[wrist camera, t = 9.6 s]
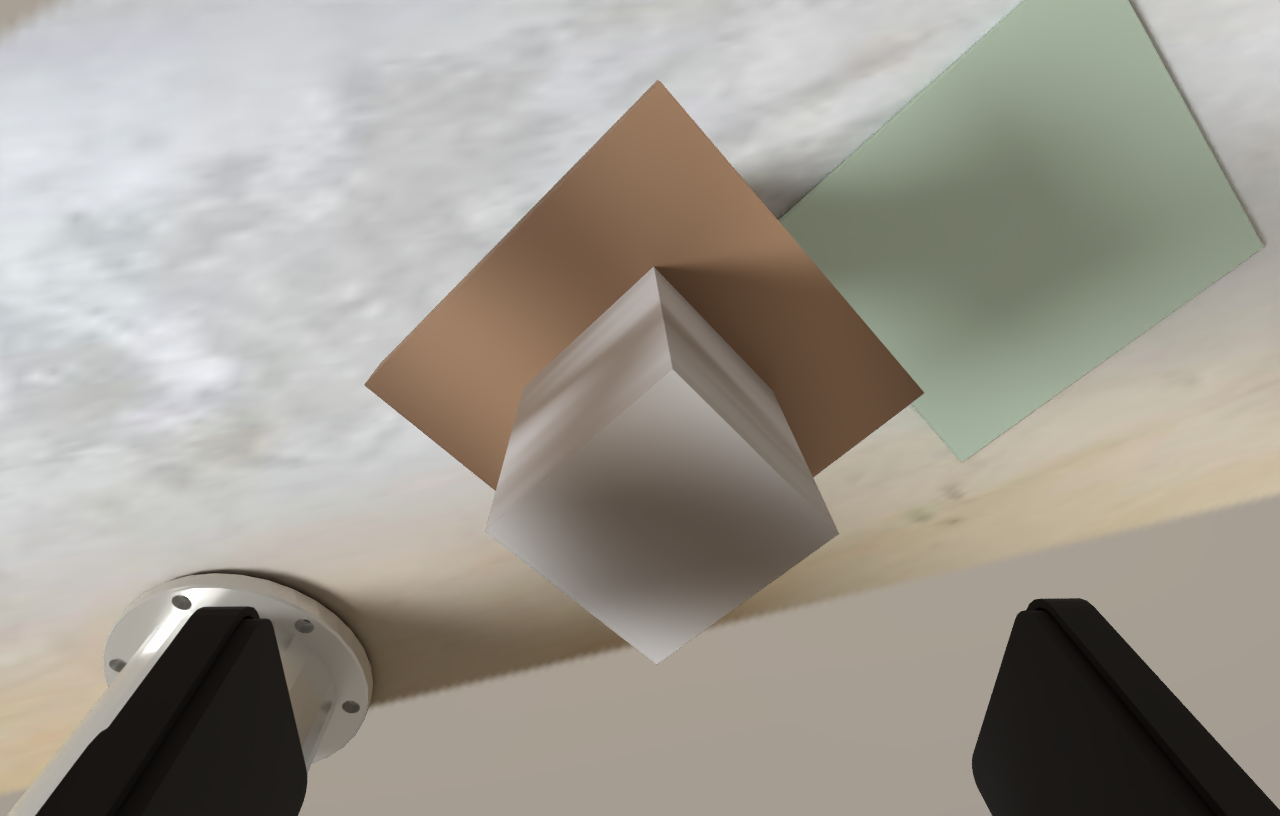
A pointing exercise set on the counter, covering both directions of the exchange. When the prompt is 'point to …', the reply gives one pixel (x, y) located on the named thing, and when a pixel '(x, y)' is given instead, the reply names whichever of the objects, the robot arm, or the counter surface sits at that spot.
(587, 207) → the lid
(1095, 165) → the mat
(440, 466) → the counter surface
